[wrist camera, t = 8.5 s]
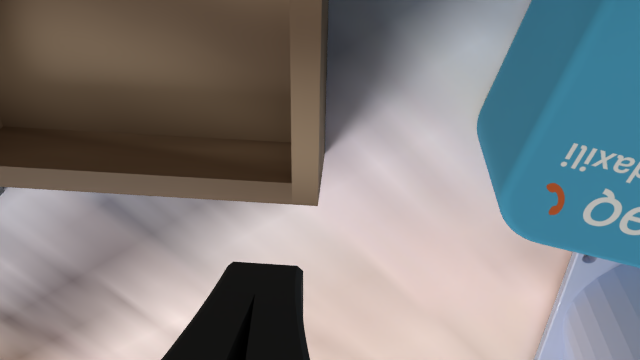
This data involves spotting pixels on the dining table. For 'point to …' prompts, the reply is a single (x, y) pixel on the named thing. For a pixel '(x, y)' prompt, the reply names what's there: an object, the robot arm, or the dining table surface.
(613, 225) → the data package
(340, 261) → the dining table surface
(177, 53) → the walnut box
